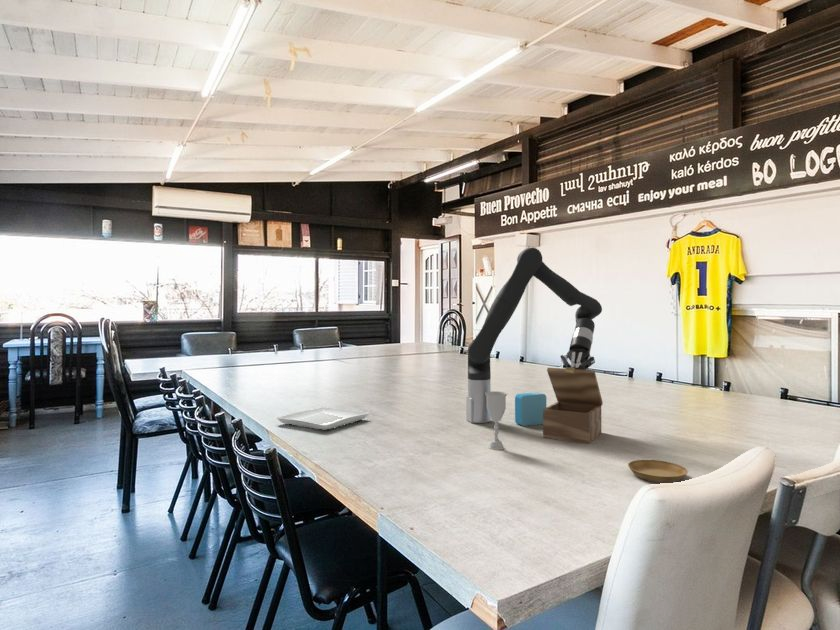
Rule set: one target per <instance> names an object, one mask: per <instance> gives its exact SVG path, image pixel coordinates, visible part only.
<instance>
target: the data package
mask: <svg viewBox="0 0 840 630" xmlns="http://www.w3.org/2000/svg"><path fill="white" fill-rule="evenodd" d="M545 408H547V395H546V394H545V393H542V392H537V391H536V392H528V393H527V392H526V393H525V392H524V393H517V394H516V395H515V396H514V422H515V423H516V424H517V425H520V426H522V427H529V426H528V425H530V426H536V425H537V424H539V425H543V409H545Z"/></svg>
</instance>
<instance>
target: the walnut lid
mask: <svg viewBox="0 0 840 630" xmlns="http://www.w3.org/2000/svg"><path fill="white" fill-rule="evenodd" d="M546 371H547V374H548V378H549V380H550V381H549V382H550V383H551V386H552V387H551V388H552V390H553V392H554V395H555V398H556V402H558V401H559V402H570V403H581V404H592V405H601V406H603V399H602V395H601V391H600V388H599V383H598V380H597V375H596V371H595V370H593V369H586V370H579V369H575V368H569V367H566V366H565V368H559V367H547V369H546Z"/></svg>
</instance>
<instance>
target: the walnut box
mask: <svg viewBox="0 0 840 630" xmlns="http://www.w3.org/2000/svg"><path fill="white" fill-rule="evenodd" d="M542 427H543V428H542V432H543V433H542V434H543V435H542V437H543V438H544V437H546V438H545V439H551V438H553V439H554V440H559V439H561V441H566V440H567V441H568V442H574V441H575V442H576V443H581V442H583V443H584V444H589V443H590V442H591V441H592V440H593V441H594V440H596V439H597V437H598V436H599V435H601V433H602V405H592V404H581V403H570V402H559V401H555V402H554V403H553V404H550V405H548V406H546V408H545V409H543V424H542ZM553 439H552V440H553ZM593 441H592V442H593ZM592 442H591V443H592ZM591 443H590V444H591Z"/></svg>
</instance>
